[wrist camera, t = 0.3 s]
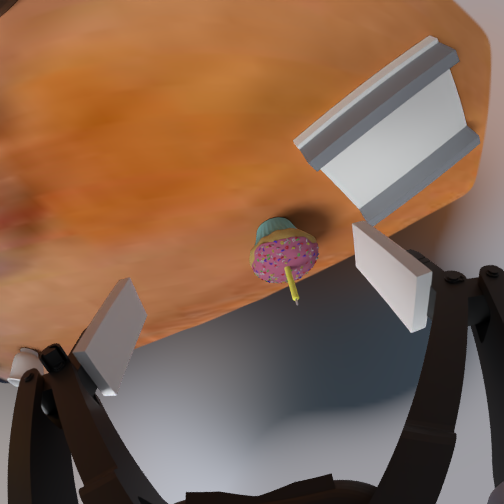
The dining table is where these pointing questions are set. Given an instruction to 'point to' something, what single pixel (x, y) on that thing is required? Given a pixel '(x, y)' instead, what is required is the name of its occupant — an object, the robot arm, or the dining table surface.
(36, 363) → the teacup
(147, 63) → the dining table surface
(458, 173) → the dining table surface
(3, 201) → the dining table surface
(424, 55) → the rail board
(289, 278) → the cupcake
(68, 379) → the robot arm
